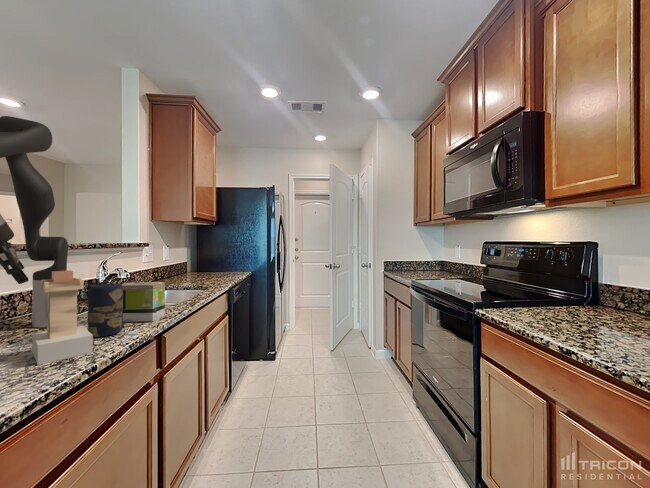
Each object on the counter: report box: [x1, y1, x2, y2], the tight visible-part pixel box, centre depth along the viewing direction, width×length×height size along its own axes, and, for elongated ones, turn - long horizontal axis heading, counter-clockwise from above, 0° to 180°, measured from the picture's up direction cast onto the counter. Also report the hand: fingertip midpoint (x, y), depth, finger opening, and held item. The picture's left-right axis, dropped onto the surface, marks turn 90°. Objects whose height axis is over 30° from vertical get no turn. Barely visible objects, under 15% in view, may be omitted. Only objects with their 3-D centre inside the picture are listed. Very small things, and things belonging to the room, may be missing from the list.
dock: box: [31, 325, 94, 366], centre depth 81 cm, size 14×11×5 cm
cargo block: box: [52, 269, 74, 282], centre depth 81 cm, size 4×4×4 cm
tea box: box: [121, 281, 166, 323], centre depth 117 cm, size 15×10×15 cm, turn 93°
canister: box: [87, 281, 124, 338], centre depth 97 cm, size 10×10×18 cm
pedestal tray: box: [41, 277, 85, 339], centre depth 81 cm, size 8×8×16 cm
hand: (21, 275), depth 80 cm, fingers open, 8 cm apart
